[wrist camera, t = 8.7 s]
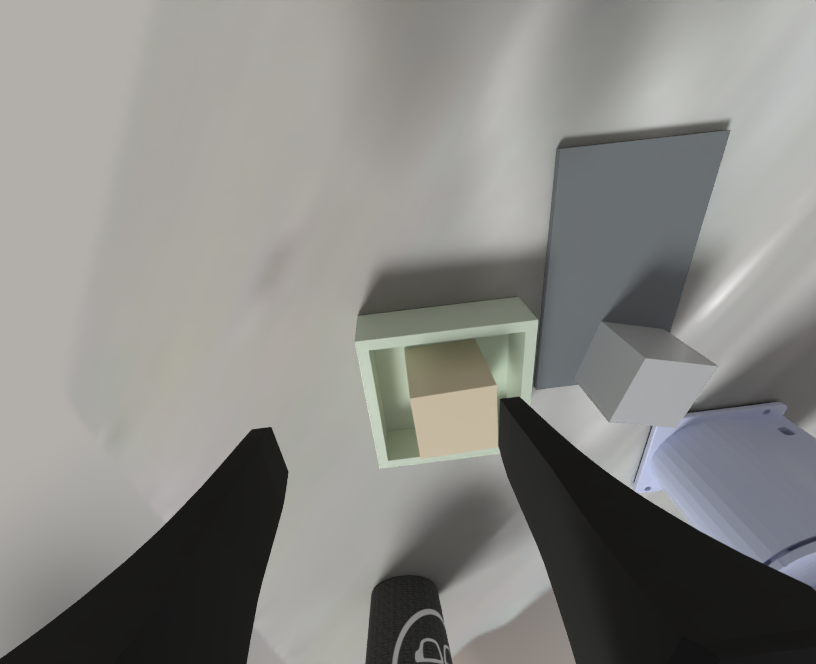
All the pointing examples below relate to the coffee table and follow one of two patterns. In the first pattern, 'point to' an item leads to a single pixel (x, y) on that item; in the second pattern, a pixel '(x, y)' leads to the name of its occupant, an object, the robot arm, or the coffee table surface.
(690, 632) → the robot arm
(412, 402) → the tan wooden cube
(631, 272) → the slate mat
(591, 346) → the matte grey cube
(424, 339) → the green bin
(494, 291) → the coffee table surface
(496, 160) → the coffee table surface
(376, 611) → the coffee cup
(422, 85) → the coffee table surface
